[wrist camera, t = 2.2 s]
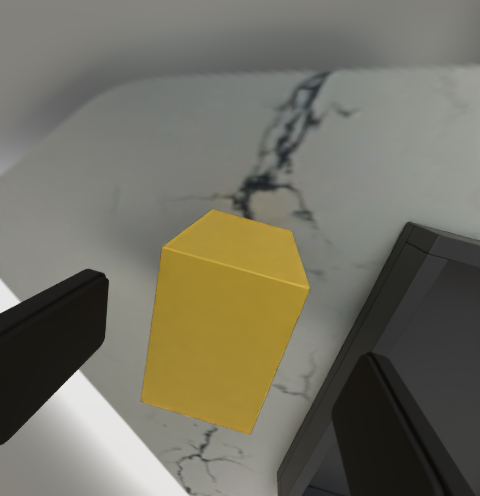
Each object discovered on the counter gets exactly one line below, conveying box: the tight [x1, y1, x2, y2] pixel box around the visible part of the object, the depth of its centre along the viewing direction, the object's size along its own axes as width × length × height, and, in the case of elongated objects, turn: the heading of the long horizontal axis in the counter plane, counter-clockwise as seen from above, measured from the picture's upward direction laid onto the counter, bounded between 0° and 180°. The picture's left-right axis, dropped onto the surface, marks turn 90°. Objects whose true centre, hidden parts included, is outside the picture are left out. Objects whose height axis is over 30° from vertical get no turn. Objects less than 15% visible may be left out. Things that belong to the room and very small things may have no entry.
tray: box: [277, 222, 480, 496], centre depth 13 cm, size 20×15×2 cm
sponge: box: [141, 209, 310, 435], centre depth 10 cm, size 4×6×6 cm, turn 166°
